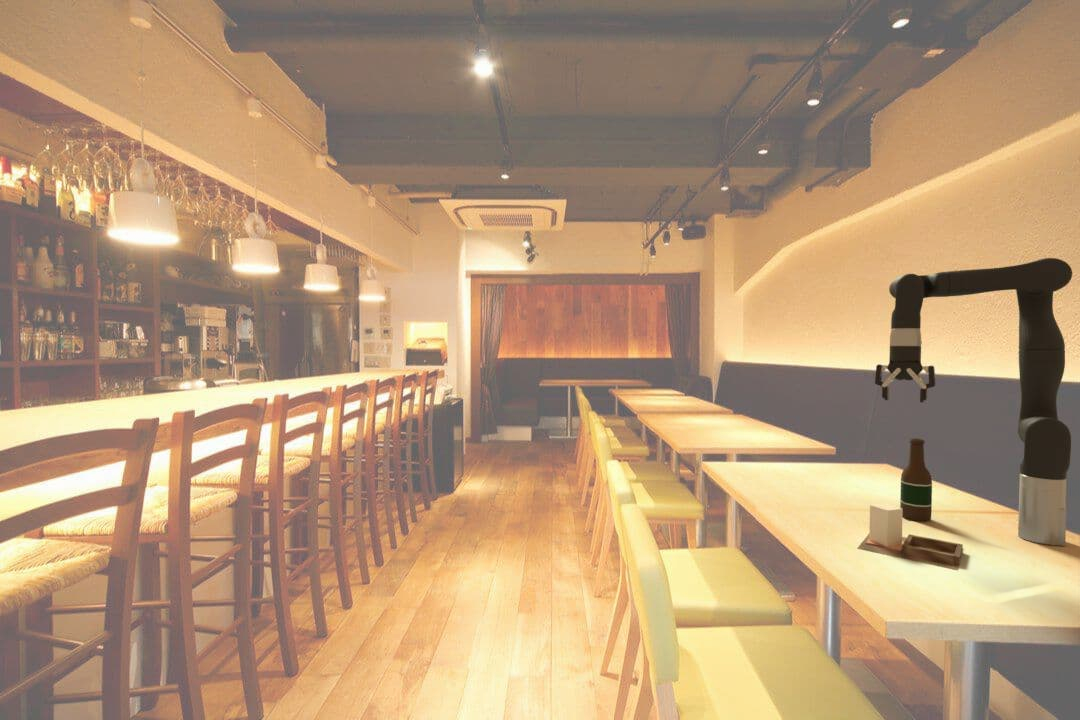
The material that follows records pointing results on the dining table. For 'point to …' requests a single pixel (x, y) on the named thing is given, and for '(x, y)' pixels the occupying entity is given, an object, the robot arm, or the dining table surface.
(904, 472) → the beer bottle
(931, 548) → the puzzle board
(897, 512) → the cream block
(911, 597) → the dining table surface
